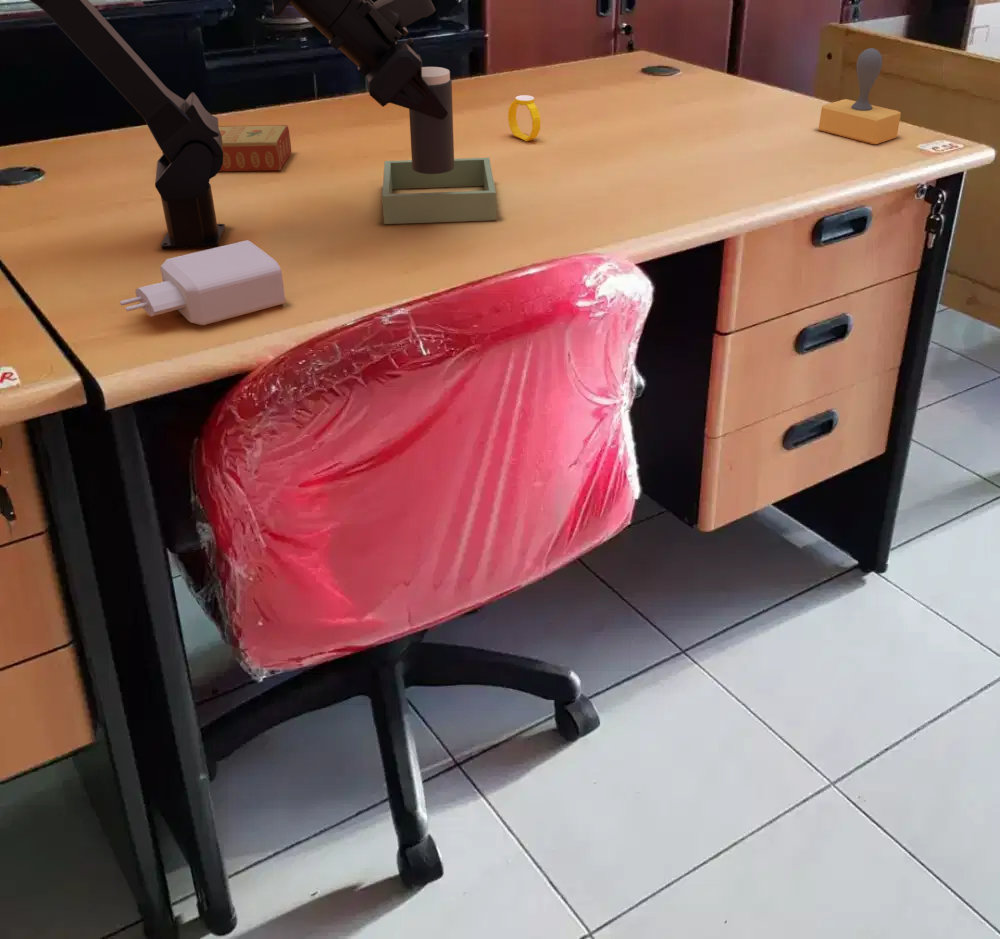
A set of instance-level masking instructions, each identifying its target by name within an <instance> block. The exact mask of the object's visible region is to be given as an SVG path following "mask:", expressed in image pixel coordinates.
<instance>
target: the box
mask: <svg viewBox="0 0 1000 939" xmlns="http://www.w3.org/2000/svg"><path fill="white" fill-rule="evenodd" d="M383 166H384V167H383V179H382V191H381V194H382V195H381V201H382V202H381V203H382V216H383V225H396V224H397V225H398V224H399V225H400V224H401V225H402V224H431V223H432V224H433V223H457V222H459V223H460V222H485V221H497V192H496V191H497V190H496V185H495V180H494V175H493V170H492V164H491V160H490V157H471V158H470V157H467V158H466V157H465V158H463V157H461V158H454V169H452V170H451V171H449V172H445V173H440V174H424V173H419V172H416V171H414V170H413V169H412V159H406V160H405V159H404V160H403V159H402V160H384V164H383ZM460 187H461V188H463V187H466V188H467V187H484V190H466V191H465V190H464V191H438V192H437V191H436V192H433V191H432V192H409V193H408V192H407V193H406V192H405V193H404V192H403V193H393V190H404V189H433V188H434V189H435V188H460Z"/></svg>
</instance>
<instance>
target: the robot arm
mask: <svg viewBox="0 0 1000 939" xmlns="http://www.w3.org/2000/svg"><path fill="white" fill-rule="evenodd" d="M29 1H30V3H32V4H34V5H36V6H37V7H38V8H40V9H41V10H42V11H43V12H44V13H46V15H47V16H48V17H49V18H50V19H51V20H52V22H54V23H55V24H56V26H57V27H58V28H59V29H60V30H61V31H62V32H63V33H64V34H65V35H66V36H67V38H69V40H70V41H71V42H72V43H73V45H75V46H76V47H77V49H79V50H80V51H81V53H82V54H83V55H84V56H85V57H86V58H87V59H88V60H89V62H91V64H93V65H94V67H95V68H96V69H97V70H98V71H99V73H101V74H102V75H103V77H104V78H106V79H107V81H108V82H109V83H110V84H111V86H113V87H114V88H115V89H116V90H117V91H118V92H119V93H120V95H121V96H122V97H123V98H124V99H125V100H126V101H127V102H128V104H130V105H131V106H132V108H133V109H135V111H136V112H137V113H138V114H139V115H140V116H141V117H142V119H143V120H144V122H145V123H146V126H147V127H148V129H149V131H150V133H151V135H152V136H153V138H154V140H155V141H156V144H157V145H158V147H159V149H160V151H161V152H163V153H164V154H163V153H162V155H161V156H160V158H158V160H157V162H156V172H155V182H154V187H155V189H156V191H157V193H158V194H159V196H160V200H161V205H162V210H163V215H164V220H165V225H166V230H167V232H166V234H165V236H164V238H163V240H162V241H161V243H160V247H161V249H162V250H179V249H204V248H205V249H206V248H208V249H211V248H216V247H220V243H221V241H222V238H223V236H224V234H225V231H226V224H224V223H218V222H217V221H218V220H217V214H216V210H215V202H214V198H213V197H214V196H213V191H212V186H211V183H210V180H211V179H212V178H214V177H216V176H217V175H218V173H219V172H221V171H220V169H221V167H222V164H223V143H222V136H221V133H220V131H219V128H218V126H219V118H218V117H216V116H215V115H213V114H212V113H210V112H209V111H208V110H207V109H206V108H205V107H204V105H203V104H202V102H201V100H200V99H199V97H198V96H197V95H196V93H195V92H191V93H190V94H189V95H188V97H187V98H186V99H184V98H182V97H180V96H179V95H178V94H176V93H174V92H173V91H171V90H170V89H169V88H168V87H167V86H166V85H165V84H164V83H163V82H162V81H161V80H160V79H159V77H158V76H157V75H156V74H155V73H154V72H153V71H152V69H151V68H150V67H149V66H148V65H147V64H146V63H145V62H144V61H143V60H142V58H141V57H140V56H139V55H138V54H137V53H136V52H135V51H134V50H133V48H132V47H131V46H130V45H129V44H128V43H127V41H125V39H124V38H123V37H122V36H121V35H120V34H119V33H118V32H117V30H115V28H114V27H113V26H112V24H110V22H108V20H107V19H106V18H105V17H104V16H103V15H102V14H101V12H100V11H99V10H98V9H97V8H96V6H94V4H93V3H92V2H91V1H90V0H29ZM271 1H272V14H273V15H274V16H275V17H279V16H280V15H281V14H282V13H283V11H284V10H285V9H286V8H287V7H288V6H289V4H290V5H291V6H292V7H293V9H295V10H296V11H297V12H298V13H299V14H300V15H302V17H303V18H305V20H307V21H308V22H309V23H310V24H311V25H312V26H314V28H315V29H317V30H318V31H319V32H320V33H321V34H322V35H323V36H324V37H325V38H326V39H327V40H328V44H329V45H330V46H331V47H332V48H333V49H334V50H335V51H337V50H339V51H340V52H342V54H344V55H345V56H346V57H347V58H348V59H349V60H350V61H351V62H352V63H353V64H354V65H355V66H357V70H358V72H359V73H360V74H361V75H363V76H364V77H365V78H366V80H367V81H366V82H367V90H368V93H369V94H368V95H369V96H370V97H371V98H372V99H373V100H374V101H376V102H377V104H379V105H380V106H381V107H382V108H384V107H385V106H386V105H388V104H392V105H395V106H399V107H402V108H405V109H408V110H409V109H411V110H414V111H417V112H420V113H423V114H426V115H429V116H432V117H434V118H437V119H440V120H443V119H444V118H445V117H446V116H447V115H448V111H447V110H446V108H445V107H444V106H443V104H442V103H441V102H440V100H439V99H438V97H437V96H436V95H435V93H434V92H433V91H432V89H431V88H430V87H429V85H428V84H427V83H426V81H425V80H424V79H423V77H422V67H423V60H422V57H421V56H420V54H419V53H418V54H417V53H416V52H415V42H414V40H413V37H409V38H407V39H406V41H405V42H403V43H401V42H400V43H399V42H398V41H399V40H400V38H401V37H402V36H403V37H407V35H409V31H408V29H407V27H408V26H410V25H411V24H413V23H415V22H416V21H418V20H420V19H422V18H428V17H429V16H431V15H433V14H434V13H435V12H436V8H435V5H434V3H433V2H432V0H376V1H373V0H271Z"/></svg>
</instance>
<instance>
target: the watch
mask: <svg viewBox="0 0 1000 939" xmlns="http://www.w3.org/2000/svg"><path fill="white" fill-rule="evenodd" d="M519 106H525V107H526V108H527V110H528V111H529V113H530V117H531V120H532V121H531V131H530V134H529V135H527V134H526V133H524V132H522V131H521V129H520V127H519V124H518V120H517V111H518V107H519ZM507 113H508V114H507V121H508V127H509V129H510V131H511V133H512V135H513V137H516V138H518V139H521V140H522V141H525V142H530V141H533V140H535V139H536V138H537V137H538V136H539V133H540V132H541V131H540V130H541V121H542V120H541V119H542V118H541V115H540V111H539V109H538V107H537V106H536V104H535V97H534V96H532V95H527V94H524V95H523V94H521V95H517V96H515V98H514V100H513V101H511V103H510V105H509V107H508V111H507Z"/></svg>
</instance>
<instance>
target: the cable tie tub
mask: <svg viewBox="0 0 1000 939" xmlns="http://www.w3.org/2000/svg"><path fill="white" fill-rule="evenodd" d="M422 77H423V79H424V80H425V81H426V83H427V84H428V85H429V87H430V88H431V89H432V91H433V92H434V93H435V95H436V96H437V97H438V99H439V100H440V102H441V103H442V104H443V106H444V107H445V108H446V110H447V111H448V115H447V116H446V117H445V118H444V119H443V120H440V119H437V118H434V117H432V116H429V115H426V114H423V113H420V112H417V111H414V110H411V109H408V112H409V113H408V114H409V134H410V150H411V151H410V152H411V154H410V155H411V160H412V169H413V170H414V171H416V172H419V173H424V174H440V173H445V172H449V171H451V170H452V169H454V159H455V143H454V141H455V140H454V113H453V112H454V110H453V109H454V108H453V81H452V78H451V71H450V69H448V68H445V67H439V66H422Z"/></svg>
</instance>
